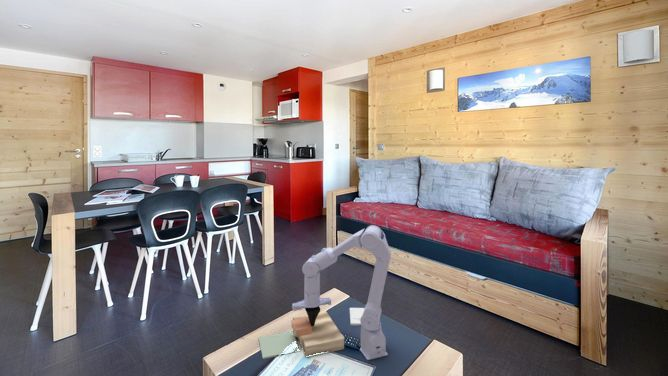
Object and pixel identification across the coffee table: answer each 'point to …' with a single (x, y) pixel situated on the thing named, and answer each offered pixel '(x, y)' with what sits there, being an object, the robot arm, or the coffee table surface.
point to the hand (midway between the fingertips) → (311, 324)
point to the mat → (276, 344)
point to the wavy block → (321, 336)
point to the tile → (301, 327)
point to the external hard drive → (356, 316)
